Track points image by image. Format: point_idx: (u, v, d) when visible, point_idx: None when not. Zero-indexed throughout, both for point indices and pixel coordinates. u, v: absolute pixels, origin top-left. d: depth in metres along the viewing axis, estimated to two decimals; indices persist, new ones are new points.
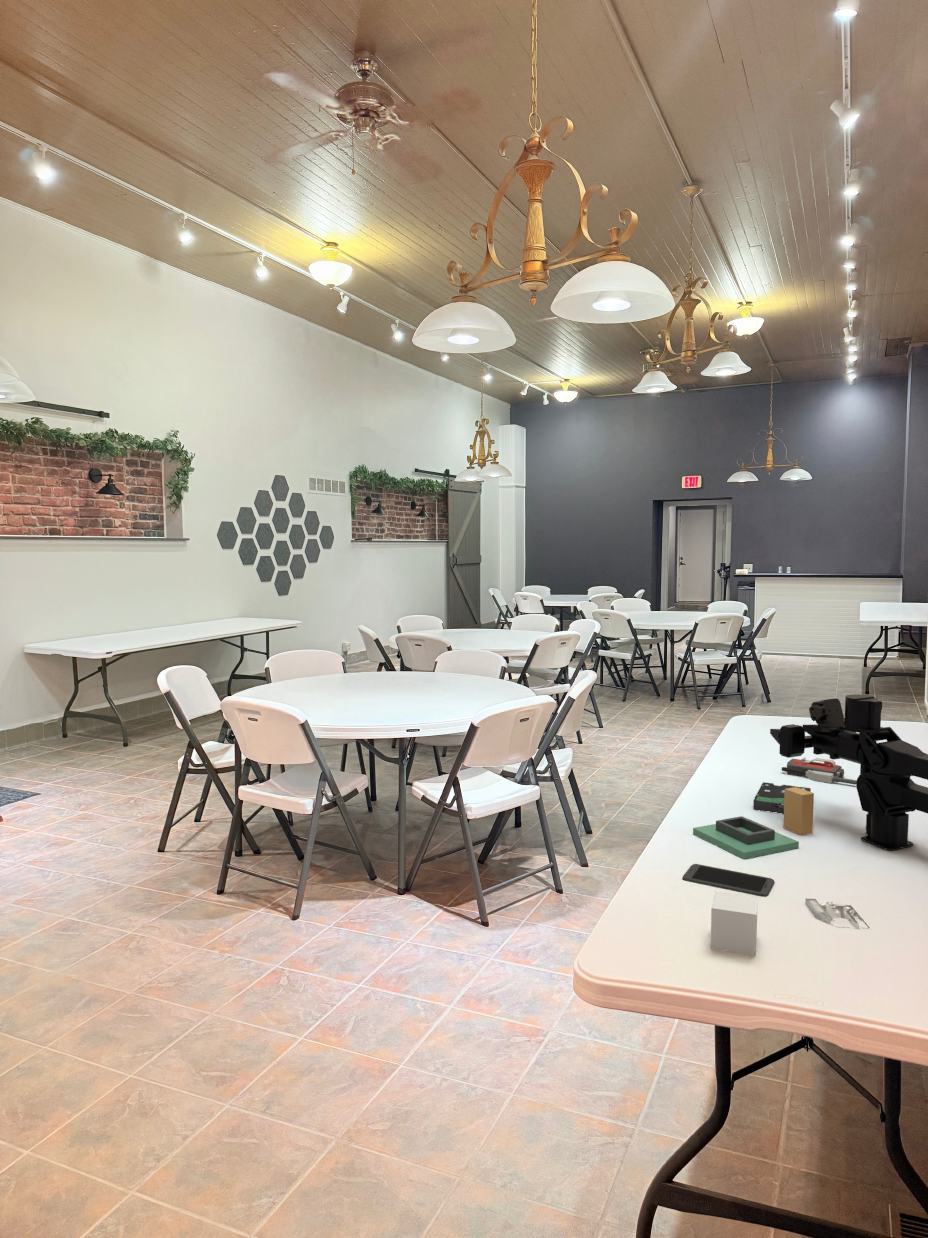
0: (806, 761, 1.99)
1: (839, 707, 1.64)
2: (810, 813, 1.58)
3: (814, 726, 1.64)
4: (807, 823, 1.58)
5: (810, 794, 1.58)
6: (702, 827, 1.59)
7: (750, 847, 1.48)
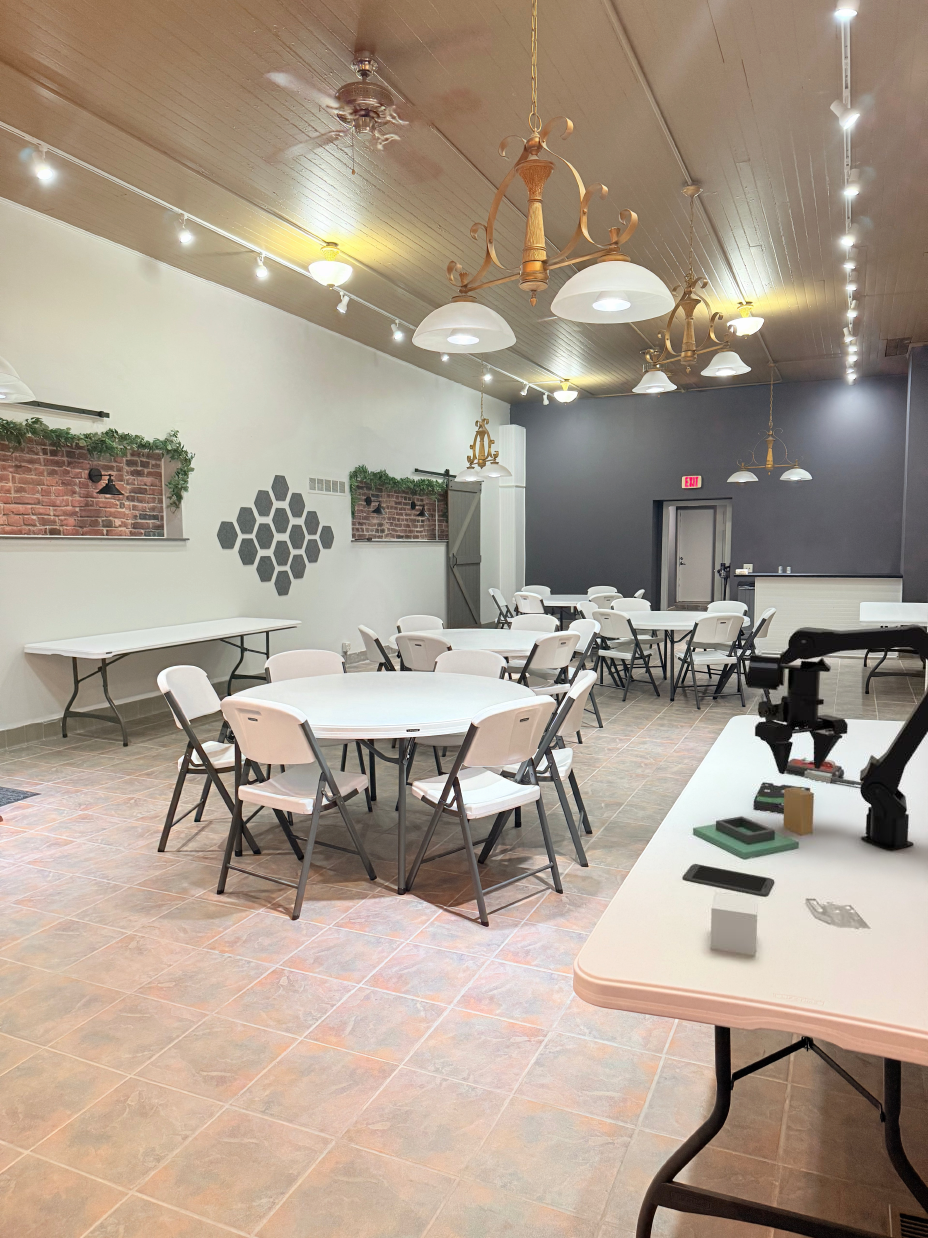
0: (806, 761, 1.99)
1: None
2: (810, 813, 1.58)
3: (779, 719, 1.60)
4: (807, 823, 1.58)
5: (810, 794, 1.58)
6: (702, 827, 1.59)
7: (750, 847, 1.48)
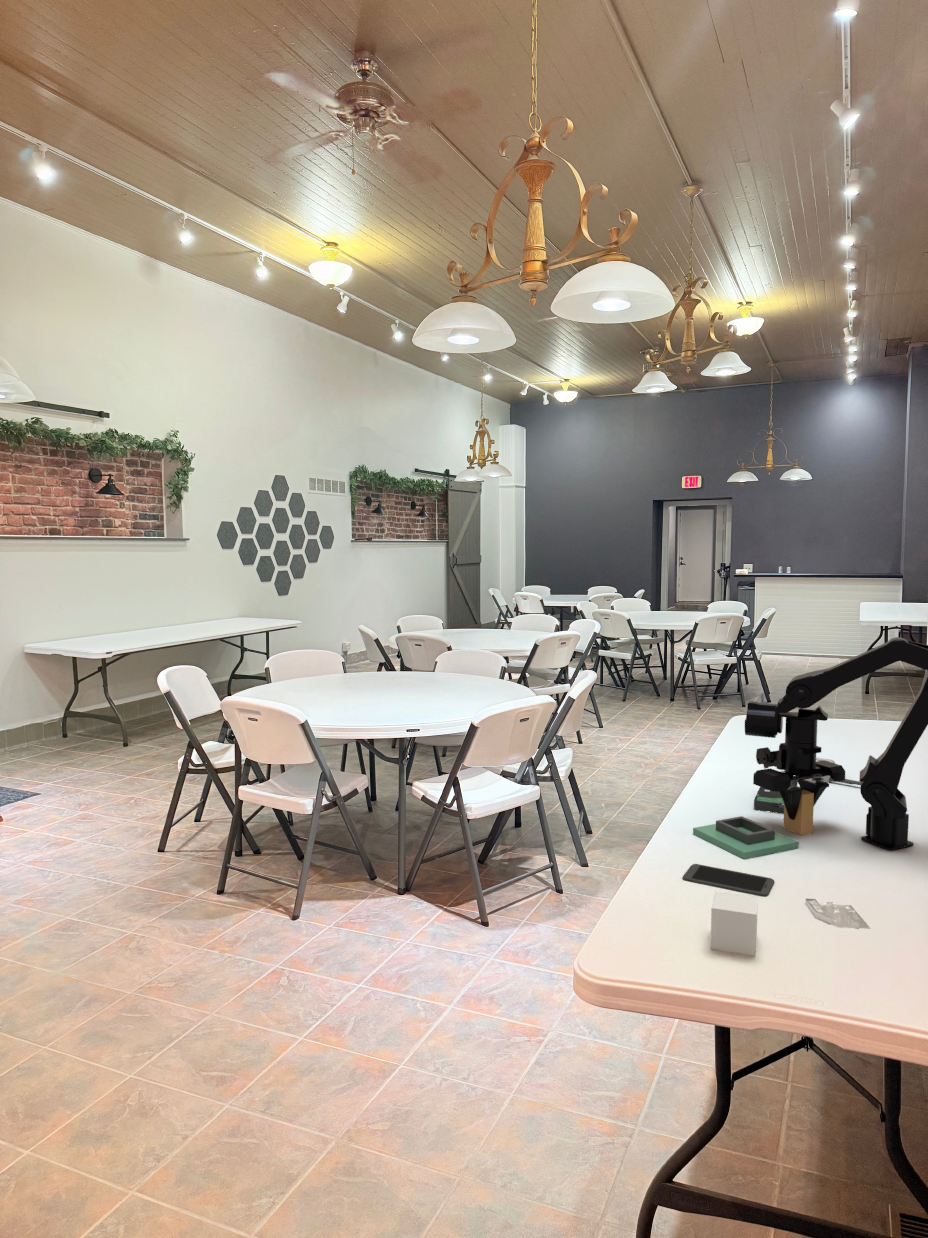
0: None
1: None
2: (810, 813, 1.58)
3: (777, 766, 1.61)
4: (807, 823, 1.58)
5: (810, 794, 1.58)
6: (702, 827, 1.59)
7: (750, 847, 1.48)
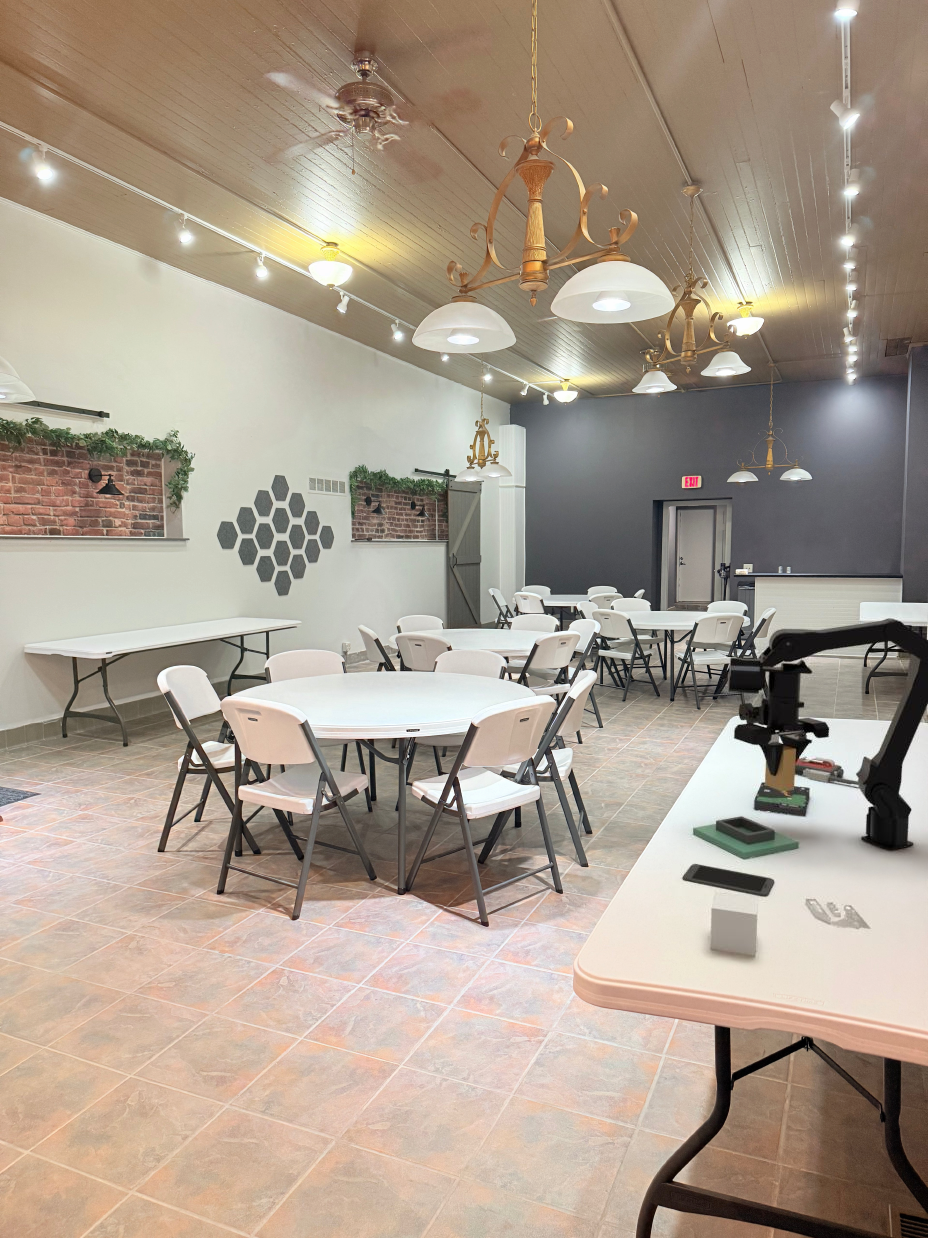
0: (806, 760, 2.00)
1: None
2: (791, 769, 1.56)
3: (759, 721, 1.58)
4: (788, 779, 1.56)
5: (792, 750, 1.55)
6: (702, 827, 1.59)
7: (750, 847, 1.48)
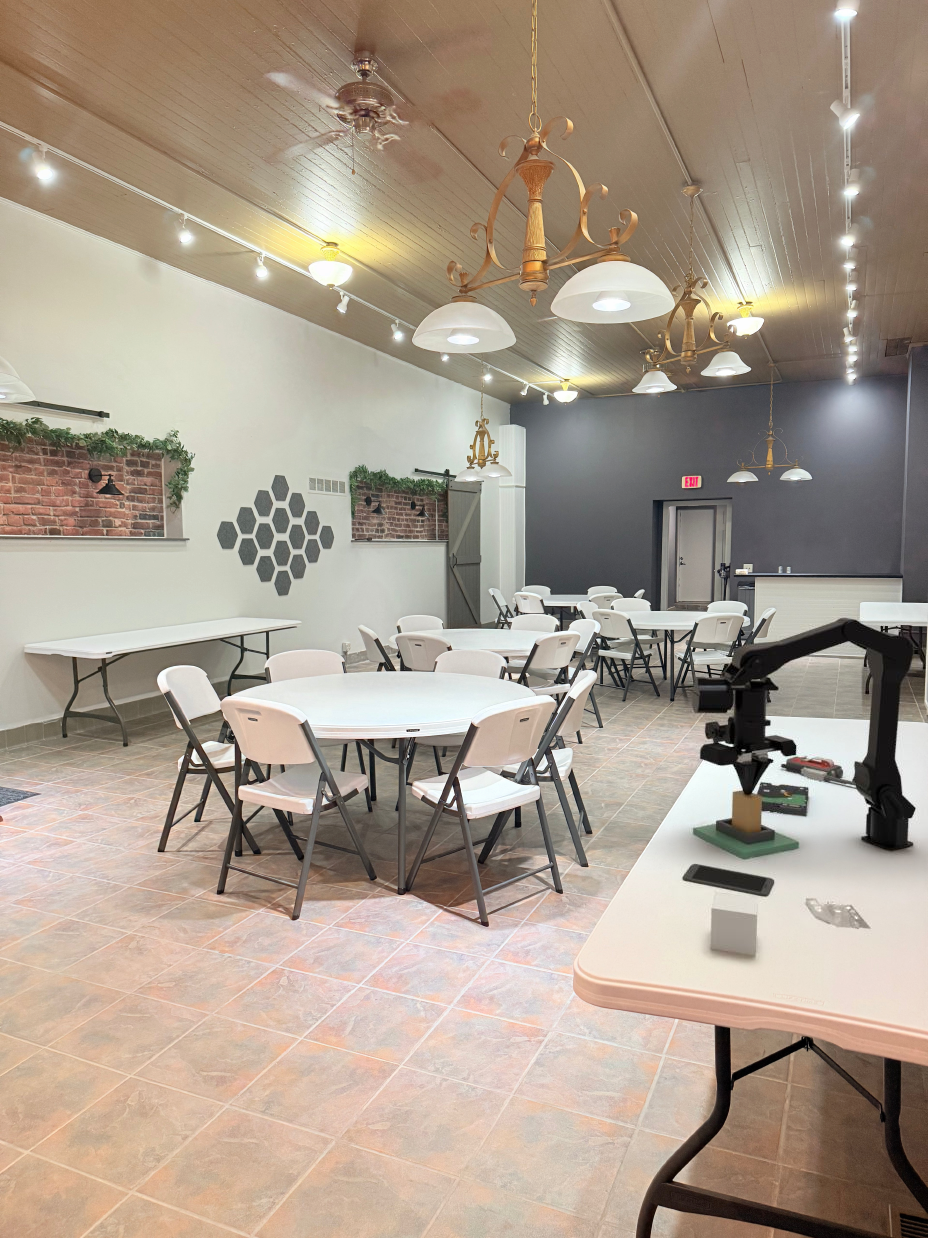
0: (806, 759, 2.01)
1: None
2: (758, 817, 1.52)
3: (725, 740, 1.54)
4: (755, 827, 1.52)
5: (758, 797, 1.52)
6: (702, 827, 1.59)
7: (750, 847, 1.48)
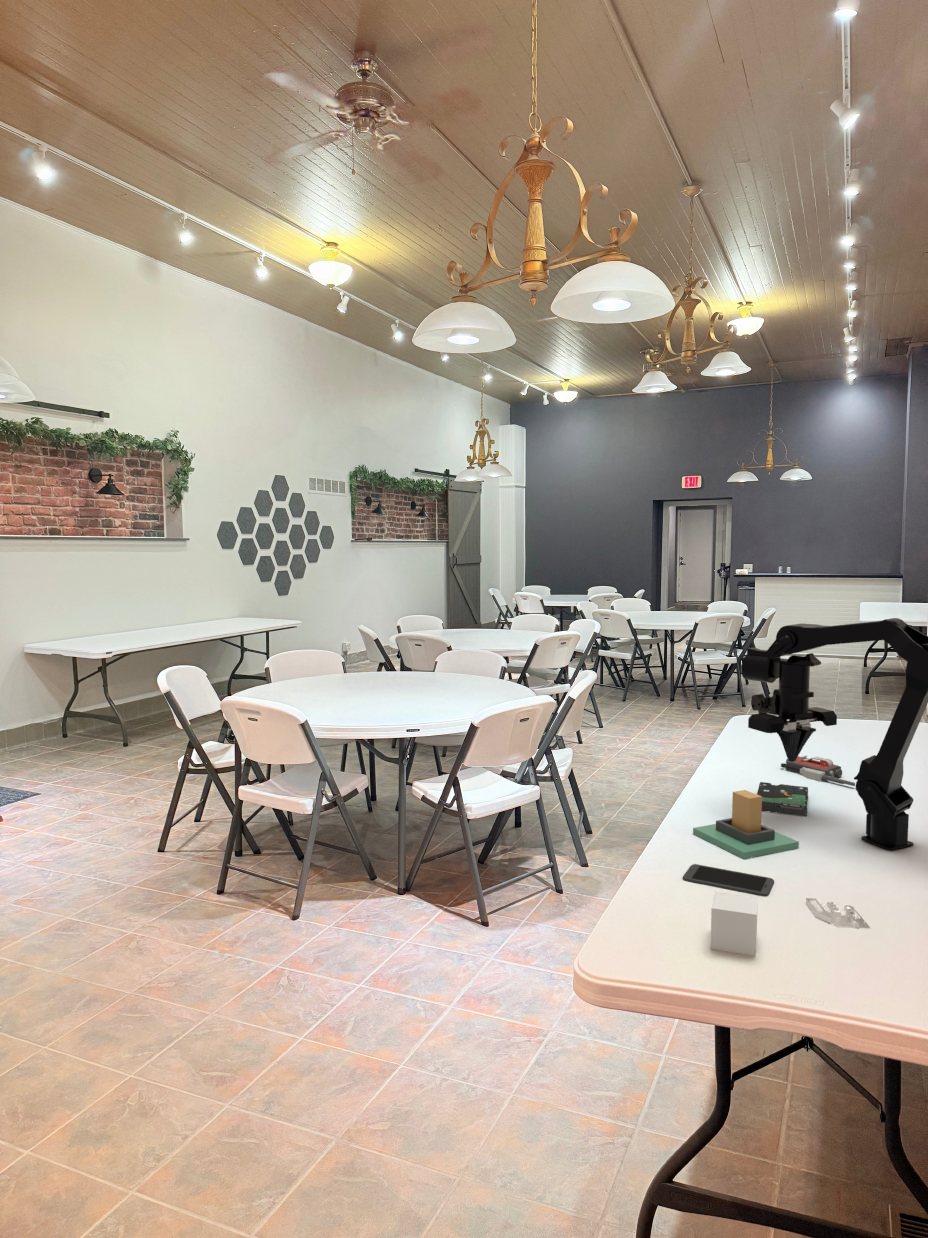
0: (806, 759, 2.01)
1: None
2: (758, 817, 1.52)
3: (771, 711, 1.67)
4: (755, 827, 1.52)
5: (758, 797, 1.52)
6: (702, 827, 1.59)
7: (750, 847, 1.48)
